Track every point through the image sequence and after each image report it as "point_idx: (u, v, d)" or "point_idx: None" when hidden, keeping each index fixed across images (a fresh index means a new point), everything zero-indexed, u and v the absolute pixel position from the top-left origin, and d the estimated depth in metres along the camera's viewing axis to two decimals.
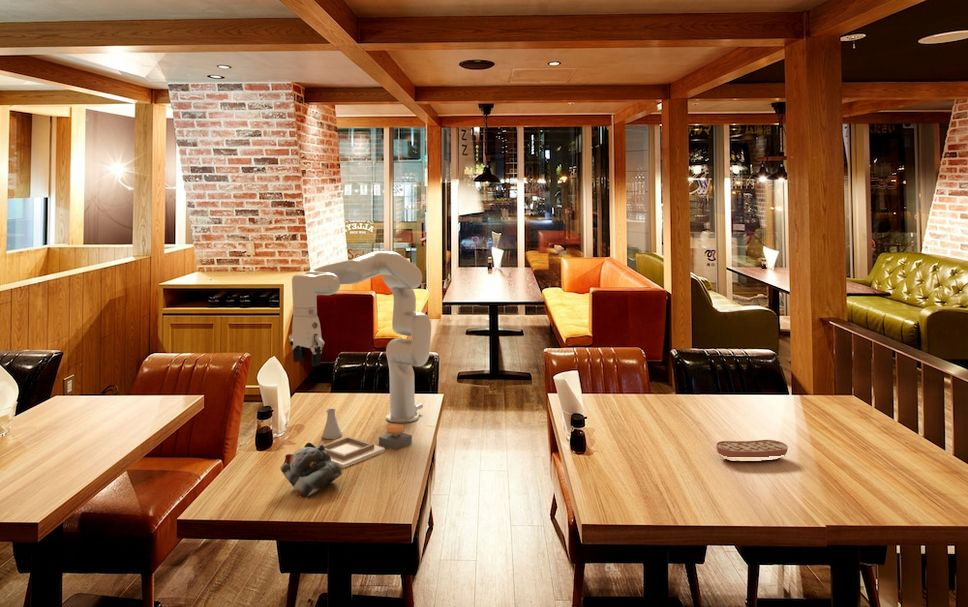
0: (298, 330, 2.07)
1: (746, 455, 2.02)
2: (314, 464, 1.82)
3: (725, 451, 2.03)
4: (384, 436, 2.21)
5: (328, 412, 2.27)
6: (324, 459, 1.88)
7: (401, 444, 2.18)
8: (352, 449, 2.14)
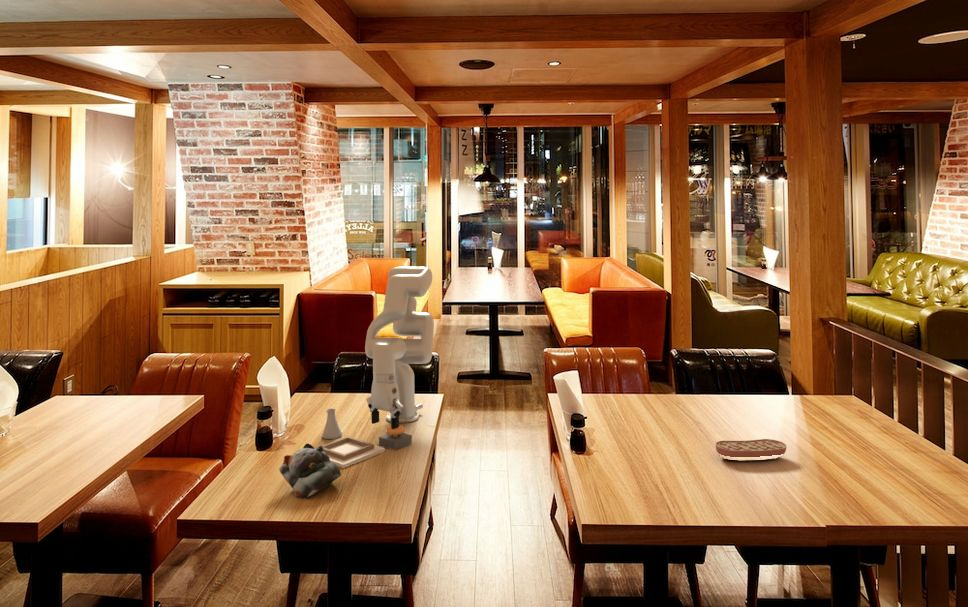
0: (378, 394, 2.20)
1: (745, 454, 2.03)
2: (313, 465, 1.82)
3: (724, 451, 2.04)
4: (384, 436, 2.21)
5: (328, 412, 2.27)
6: (323, 460, 1.87)
7: (401, 444, 2.18)
8: (352, 449, 2.14)
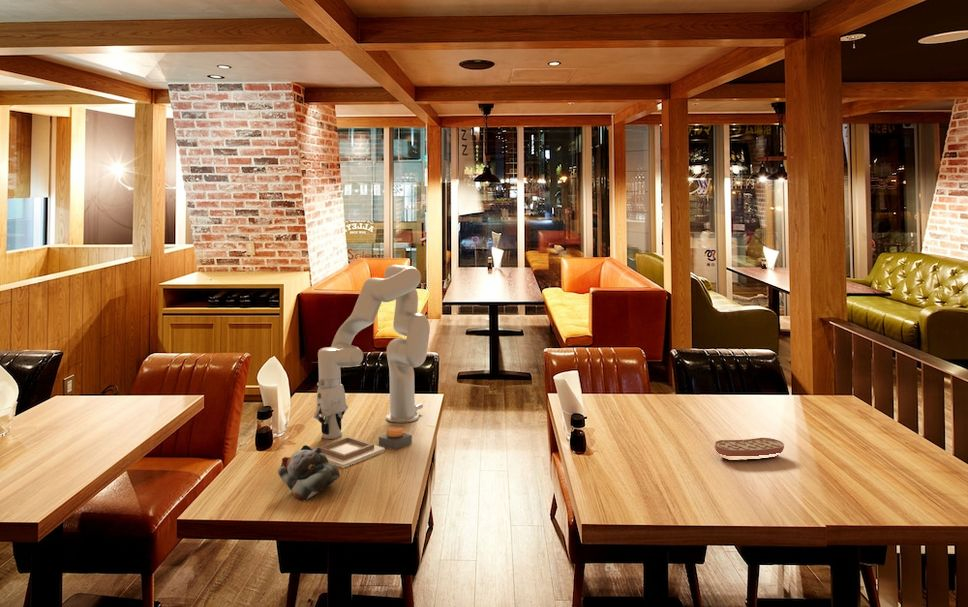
0: None
1: (745, 454, 2.03)
2: (312, 467, 1.80)
3: (724, 450, 2.04)
4: (384, 436, 2.21)
5: None
6: (322, 461, 1.86)
7: (401, 444, 2.18)
8: (352, 449, 2.14)
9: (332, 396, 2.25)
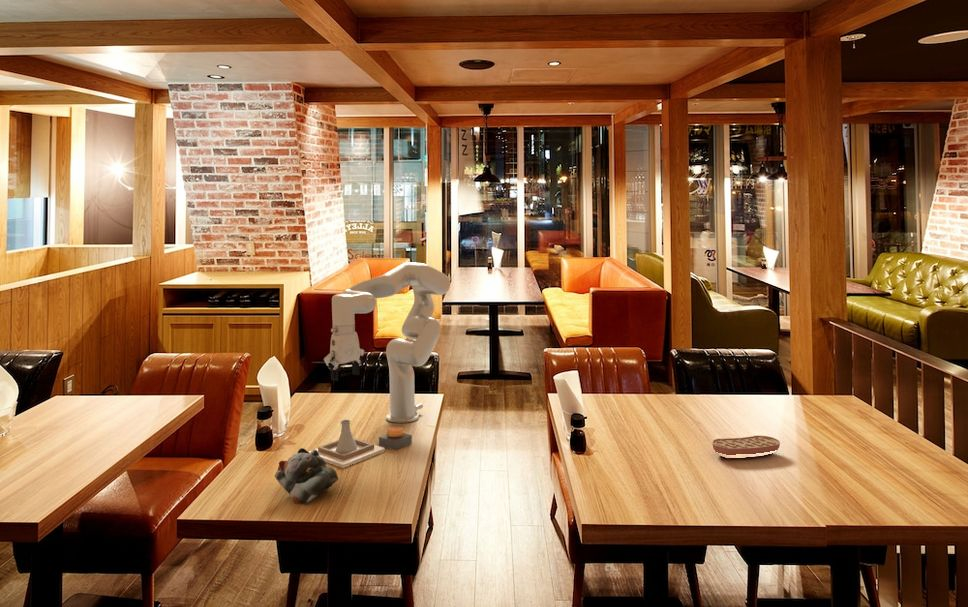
0: None
1: (743, 452, 2.05)
2: (311, 470, 1.78)
3: (723, 449, 2.05)
4: (384, 436, 2.21)
5: (342, 424, 2.11)
6: (319, 464, 1.84)
7: (401, 444, 2.18)
8: None
9: (346, 343, 2.20)
